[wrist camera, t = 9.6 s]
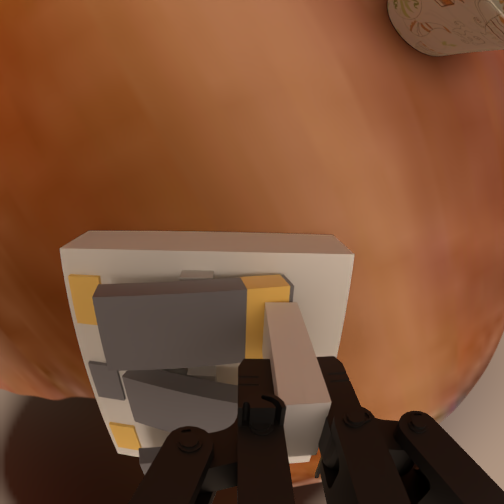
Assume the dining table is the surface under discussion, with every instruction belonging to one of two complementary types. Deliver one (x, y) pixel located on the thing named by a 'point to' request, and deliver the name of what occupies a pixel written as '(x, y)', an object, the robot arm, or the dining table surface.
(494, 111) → the dining table surface
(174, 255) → the switch unit
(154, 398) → the rocker
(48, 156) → the dining table surface
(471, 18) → the mug
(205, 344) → the rocker
